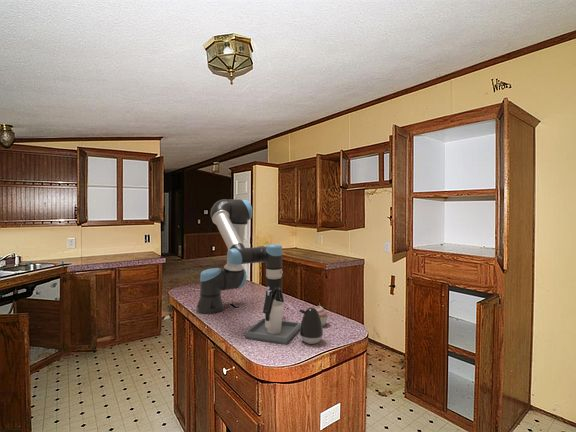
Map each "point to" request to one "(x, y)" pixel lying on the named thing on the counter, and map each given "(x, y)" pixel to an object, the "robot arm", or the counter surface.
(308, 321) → the pump dispenser
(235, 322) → the counter surface
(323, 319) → the cupcake
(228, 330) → the counter surface
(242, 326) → the counter surface
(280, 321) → the foam cup
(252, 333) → the tray
